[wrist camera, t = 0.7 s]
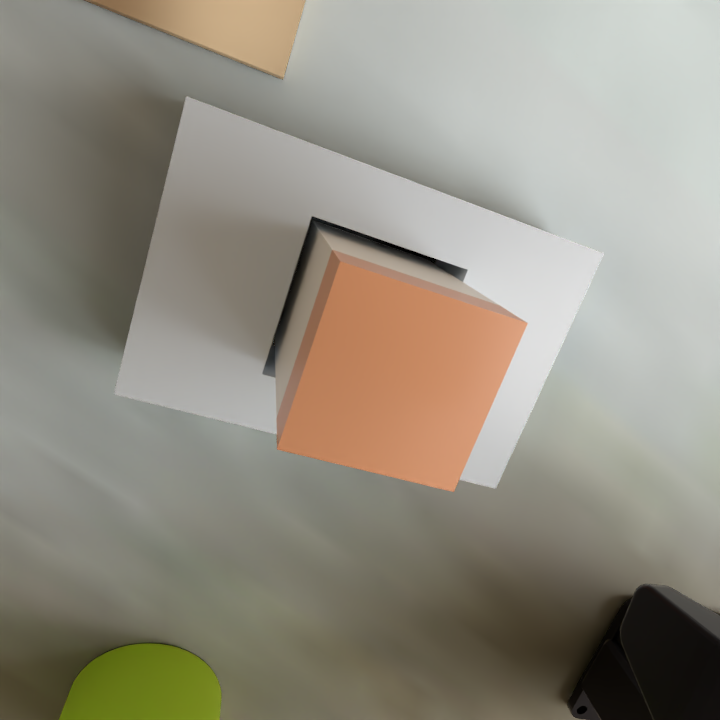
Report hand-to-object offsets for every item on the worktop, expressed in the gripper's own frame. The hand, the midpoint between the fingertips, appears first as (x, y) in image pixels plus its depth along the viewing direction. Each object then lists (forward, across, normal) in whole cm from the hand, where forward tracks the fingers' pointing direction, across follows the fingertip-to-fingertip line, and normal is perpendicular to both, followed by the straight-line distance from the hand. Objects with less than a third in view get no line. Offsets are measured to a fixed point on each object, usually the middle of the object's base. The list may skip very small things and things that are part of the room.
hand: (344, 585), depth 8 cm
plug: (+12, -1, -2) cm, 12 cm away
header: (+12, -1, -2) cm, 12 cm away
